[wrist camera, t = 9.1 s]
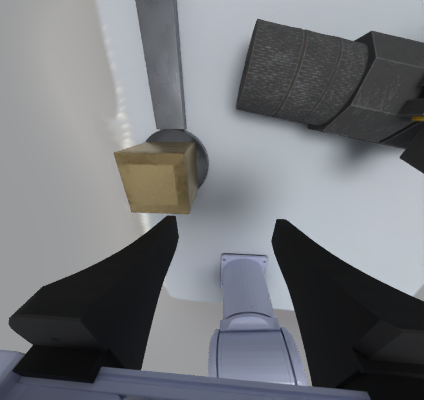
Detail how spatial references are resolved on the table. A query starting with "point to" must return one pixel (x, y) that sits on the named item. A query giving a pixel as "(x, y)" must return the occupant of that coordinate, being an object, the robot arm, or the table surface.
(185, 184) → the wood grain cube
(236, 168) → the table surface
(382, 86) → the laser sight
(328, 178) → the table surface
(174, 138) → the ratchet
